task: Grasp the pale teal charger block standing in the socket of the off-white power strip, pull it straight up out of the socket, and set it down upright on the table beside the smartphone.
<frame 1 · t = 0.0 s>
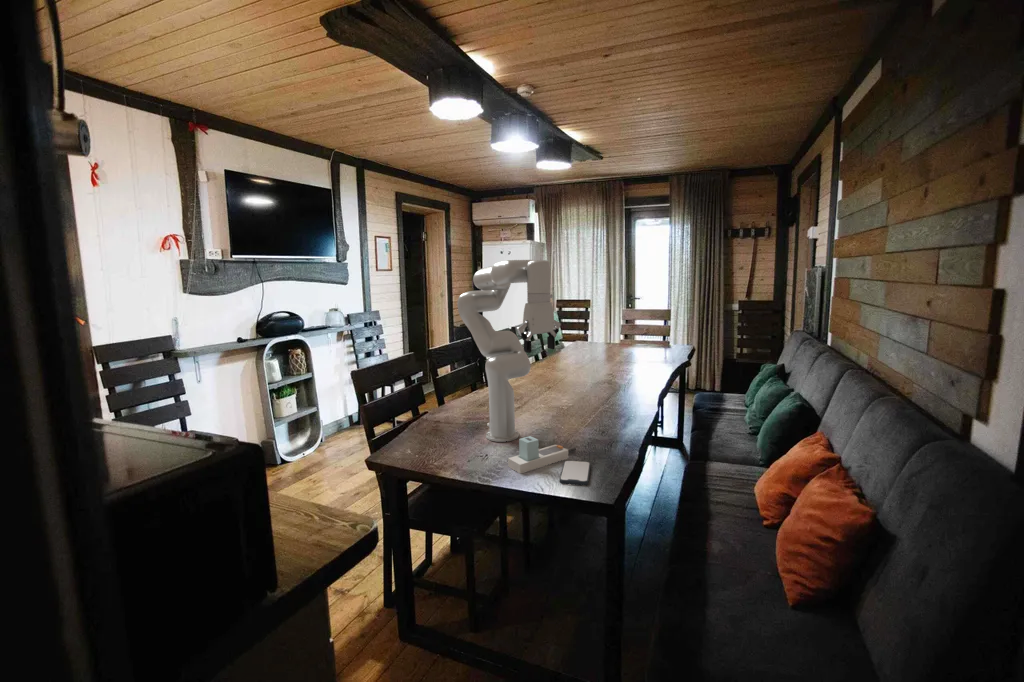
hand: (539, 350, 165), 37 cm above the table, tool pointing down, fingers open, 9 cm apart
charger: (529, 461, 163), point 1 cm above the table, touching power strip
smartphone: (575, 475, 156), on the table
power strip: (538, 462, 165), on the table
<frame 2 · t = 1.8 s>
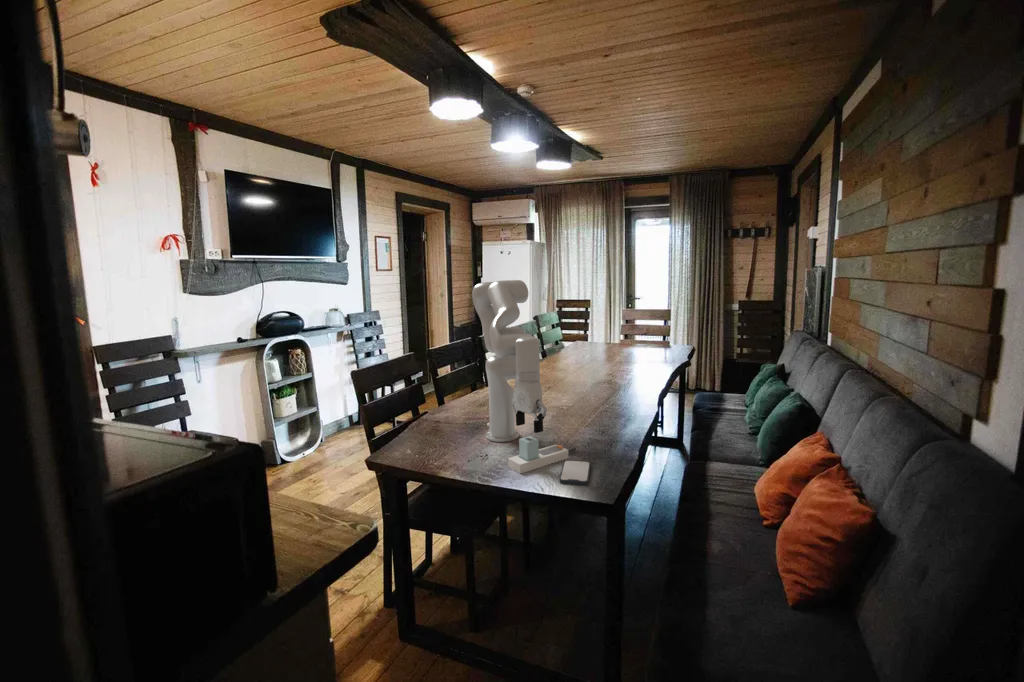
hand: (529, 428, 160), 13 cm above the table, tool pointing down, fingers open, 9 cm apart
nothing on the table moved.
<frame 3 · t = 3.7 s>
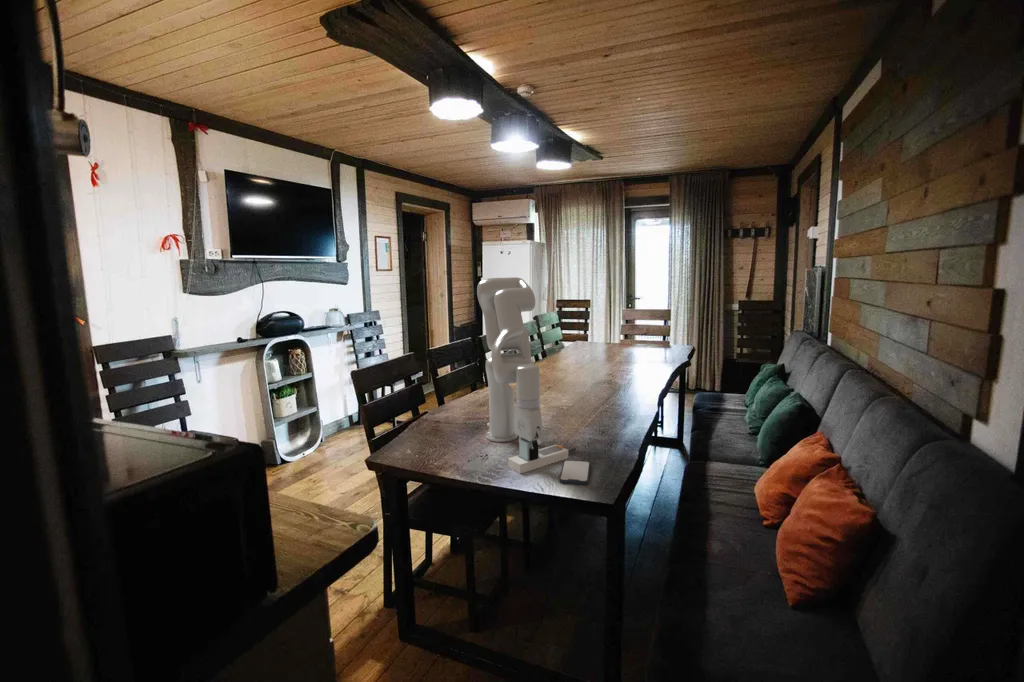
hand: (529, 456, 162), 3 cm above the table, tool pointing down, fingers closed on charger, 4 cm apart
charger: (529, 461, 163), point 1 cm above the table, touching gripper, power strip
everything else where it was.
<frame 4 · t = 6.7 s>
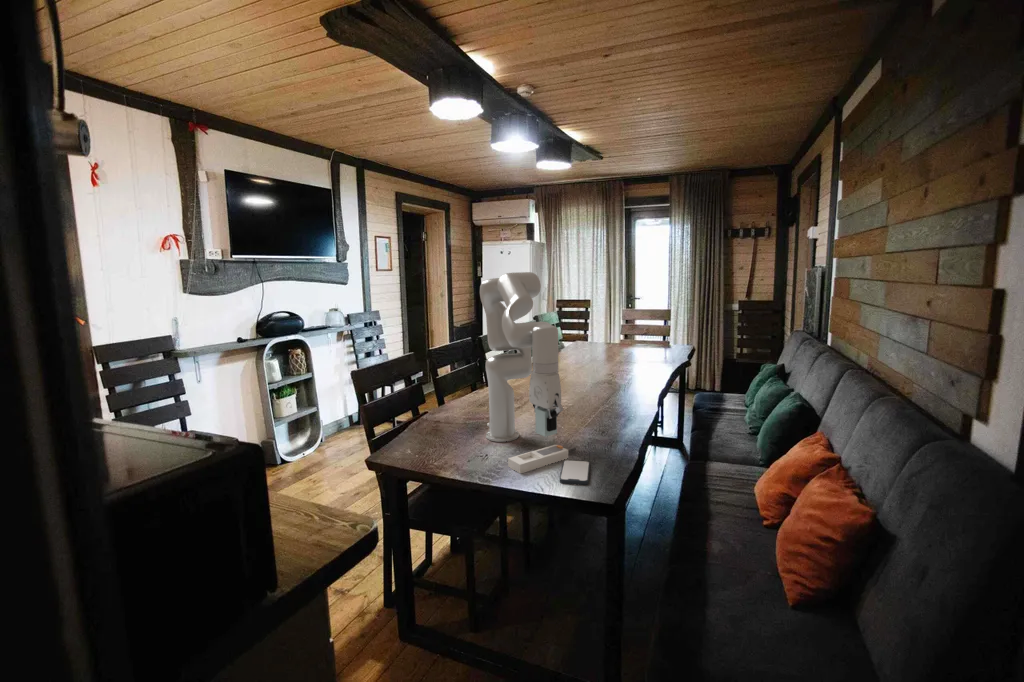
hand: (546, 427, 148), 17 cm above the table, tool pointing down, fingers closed on charger, 4 cm apart
charger: (546, 433, 148), point 15 cm above the table, touching gripper
everything else where it was.
when the fingers open (3 cm above the table, at t = 9.6 s): charger drops 1 cm, on the table.
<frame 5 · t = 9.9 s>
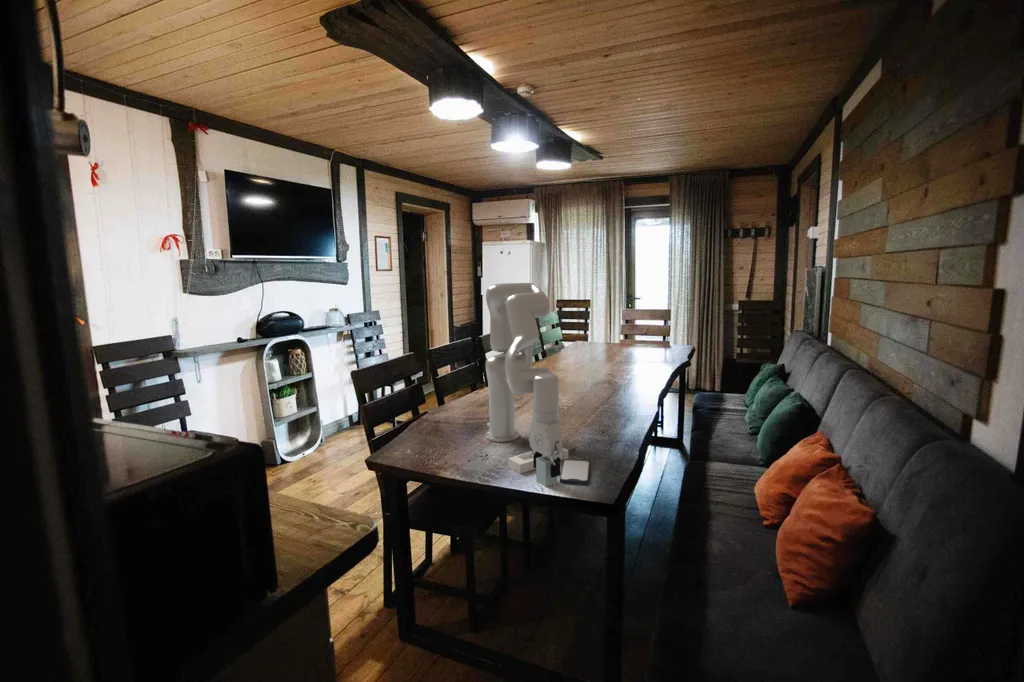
hand: (546, 471, 150), 4 cm above the table, tool pointing down, fingers open, 7 cm apart
charger: (546, 482, 151), on the table
everything else where it was.
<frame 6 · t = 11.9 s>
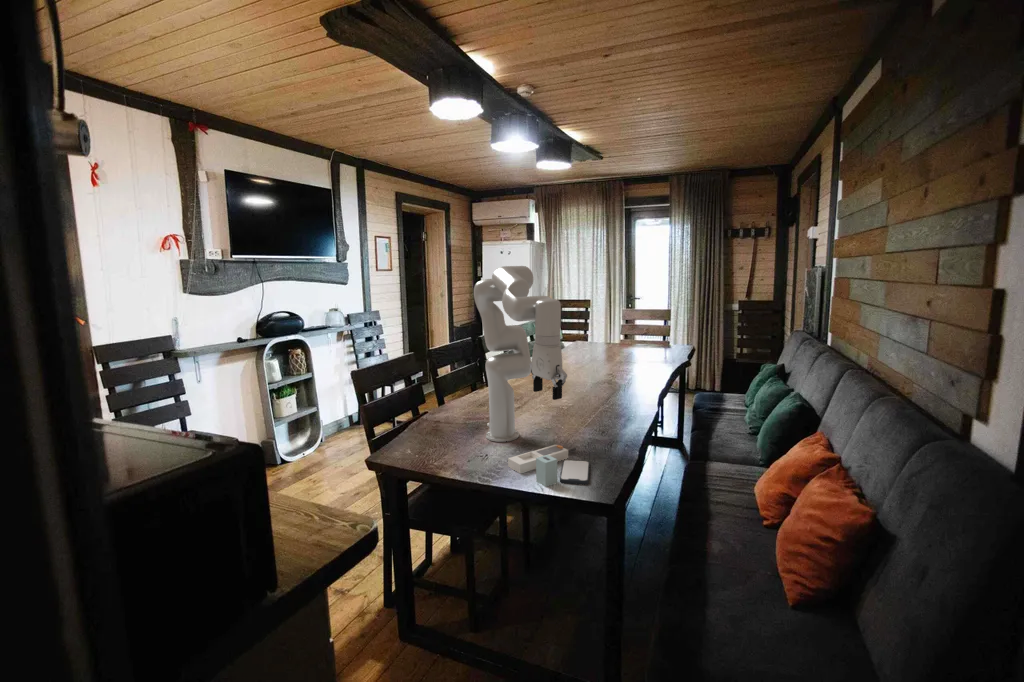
hand: (547, 394, 153), 25 cm above the table, tool pointing down, fingers open, 9 cm apart
nothing on the table moved.
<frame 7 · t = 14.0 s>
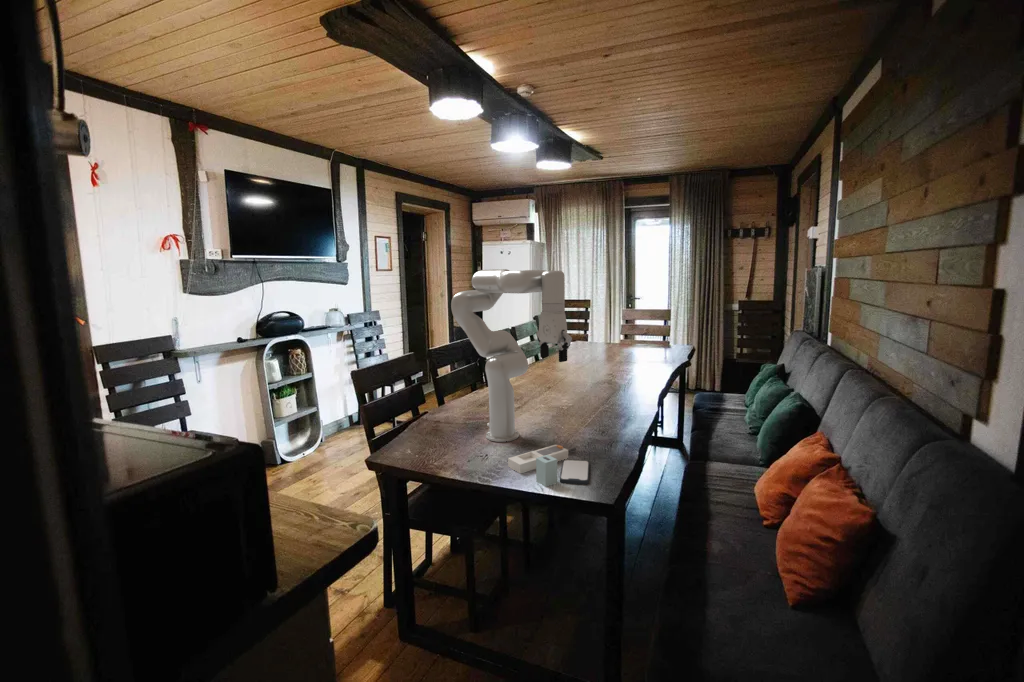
hand: (553, 359, 167), 33 cm above the table, tool pointing down, fingers open, 9 cm apart
nothing on the table moved.
at the end: charger inside the target area (0.0 cm from its centre), on the table; charger tilted 0°; the gripper is holding nothing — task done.
